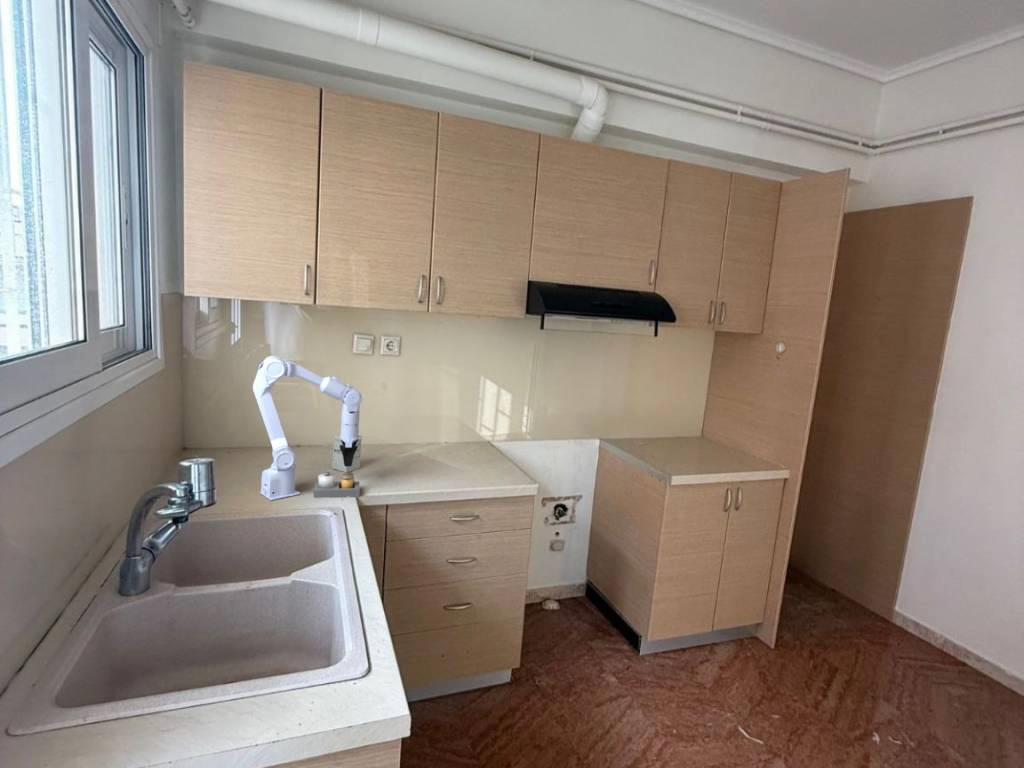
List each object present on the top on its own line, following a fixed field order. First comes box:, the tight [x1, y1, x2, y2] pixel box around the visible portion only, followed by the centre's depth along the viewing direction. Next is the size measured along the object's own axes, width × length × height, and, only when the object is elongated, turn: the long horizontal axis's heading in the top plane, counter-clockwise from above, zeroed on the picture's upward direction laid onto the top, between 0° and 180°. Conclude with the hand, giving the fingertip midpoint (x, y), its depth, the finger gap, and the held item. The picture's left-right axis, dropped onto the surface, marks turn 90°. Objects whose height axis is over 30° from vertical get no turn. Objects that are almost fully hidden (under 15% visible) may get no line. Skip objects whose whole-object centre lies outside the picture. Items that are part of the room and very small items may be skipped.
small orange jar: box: [340, 473, 355, 488], centre depth 171 cm, size 4×4×6 cm
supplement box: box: [331, 434, 362, 474], centre depth 196 cm, size 7×7×13 cm
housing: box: [313, 471, 360, 498], centre depth 170 cm, size 14×8×7 cm, turn 107°
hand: (348, 462), depth 174 cm, fingers open, 7 cm apart
